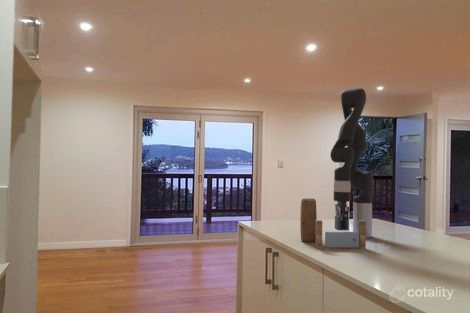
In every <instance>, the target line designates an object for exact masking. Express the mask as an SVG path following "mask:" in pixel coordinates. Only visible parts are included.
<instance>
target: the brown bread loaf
mask: <svg viewBox="0 0 470 313" xmlns="http://www.w3.org/2000/svg"><path fill="white" fill-rule="evenodd" d="M317 215H318V214H317V200H316V198H302V199H301V203H300V218H299V219H300V228H299V229H300V240H301V241H302V242H306V243H314V242H316V220H318V219H317V217H318V216H317Z"/></svg>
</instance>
